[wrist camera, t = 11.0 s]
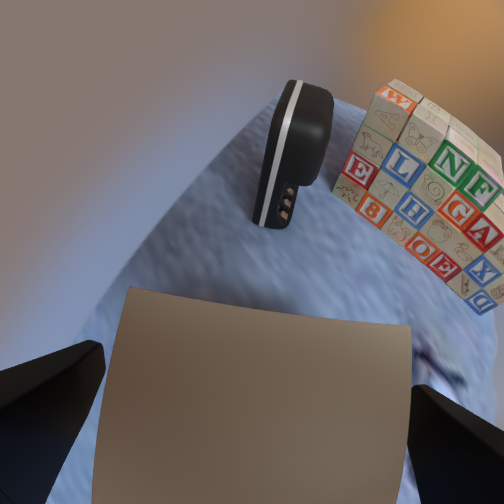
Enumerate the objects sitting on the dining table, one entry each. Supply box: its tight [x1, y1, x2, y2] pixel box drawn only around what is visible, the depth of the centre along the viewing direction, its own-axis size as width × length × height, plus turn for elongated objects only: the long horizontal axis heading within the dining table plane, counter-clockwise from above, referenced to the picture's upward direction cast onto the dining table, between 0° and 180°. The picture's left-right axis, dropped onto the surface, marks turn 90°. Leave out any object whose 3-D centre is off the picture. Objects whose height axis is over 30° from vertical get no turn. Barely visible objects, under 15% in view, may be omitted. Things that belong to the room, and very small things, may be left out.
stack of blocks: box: [331, 79, 504, 315], centre depth 21 cm, size 21×6×12 cm, turn 50°
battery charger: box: [252, 80, 334, 229], centre depth 21 cm, size 7×4×11 cm, turn 165°
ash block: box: [92, 286, 412, 504], centre depth 8 cm, size 4×4×12 cm
